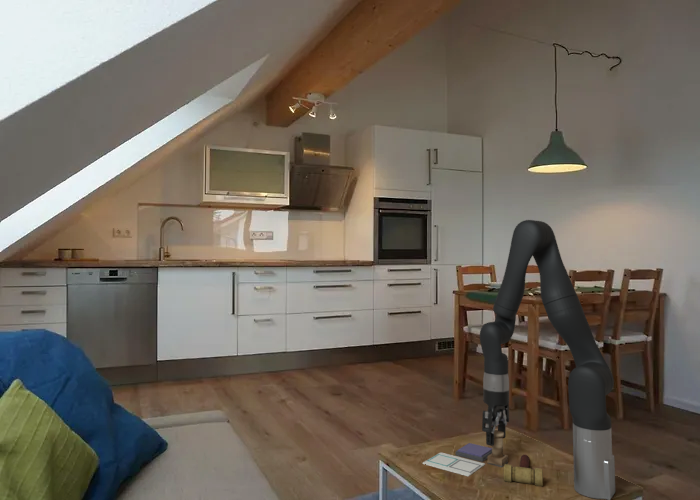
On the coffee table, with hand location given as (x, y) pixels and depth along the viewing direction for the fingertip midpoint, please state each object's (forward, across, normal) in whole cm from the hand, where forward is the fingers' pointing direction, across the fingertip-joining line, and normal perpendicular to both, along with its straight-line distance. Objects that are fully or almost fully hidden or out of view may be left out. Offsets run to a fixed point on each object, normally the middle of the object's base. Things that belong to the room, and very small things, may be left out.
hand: (496, 441), depth 152 cm
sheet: (+7, -9, +10) cm, 15 cm away
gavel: (+7, -1, -9) cm, 11 cm away
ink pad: (+7, +2, +8) cm, 11 cm away
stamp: (+6, 0, -1) cm, 6 cm away
